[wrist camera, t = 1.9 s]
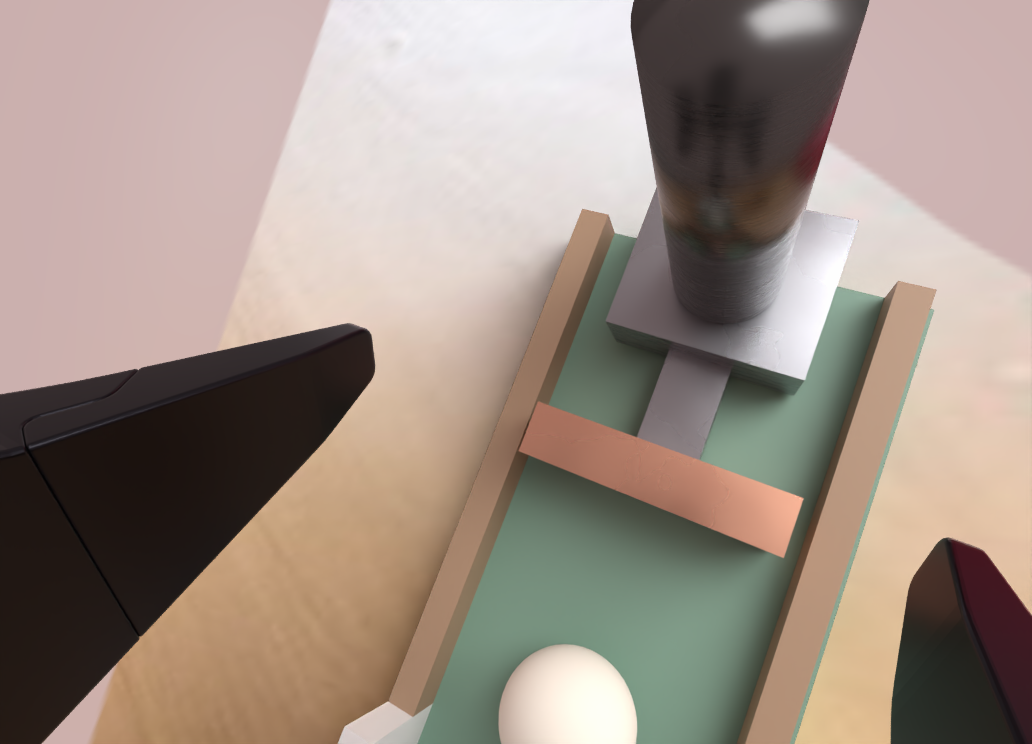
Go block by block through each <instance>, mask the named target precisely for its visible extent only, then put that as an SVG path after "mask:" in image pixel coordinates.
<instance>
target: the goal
mask: <svg viewBox="0 0 1032 744" xmlns="http://www.w3.org/2000/svg"><path fill="white" fill-rule="evenodd" d="M432 705H433V704H431V705H430V706H428V707H427V708H425V709H424V710H422V711H421V712H419V713H418V714H417V715H415V716H414V717H412V716H410V715H409V714H407V713H406V712H404V711H402V710H401V709H399V708H398V707H396V706H395V705H393V704H391V703H390V702H386V703H384V704H382V705H381V706H379V707H377V708H376V709H374V710H372V711H370V712H369V713H367V714H365V715H363V716H362V717H360V718H358V719H357V720H355V721H353V722H351V723H350V724H348V725H346V726H345V727H344V729H343V732H342V734H341V737H340V739H339V742H338V744H417V743H418V741H419V738H420V736H421V733H422V731H423V728H424V725H425V723H426V720H427V718H428V715H429V712H430V710H431V707H432Z"/></svg>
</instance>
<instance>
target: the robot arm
mask: <svg viewBox="0 0 1032 744" xmlns="http://www.w3.org/2000/svg"><path fill="white" fill-rule="evenodd" d="M374 373H375V359H374V351H373V342H372V336H371V334H370V332H369V331H368V330H367V329H365V328H363V327H360V326H357V325H354V324H350V323H347V324H341V325H337V326H332V327H328V328H323V329H318V330H314V331H309V332H305V333H300V334H295V335H291V336H286V337H281V338H277V339H272V340H268V341H263V342H258V343H254V344H249V345H244V346H240V347H235V348H231V349H226V350H221V351H217V352H212V353H207V354H203V355H198V356H194V357H189V358H185V359H180V360H175V361H171V362H166V363H162V364H157V365H152V366H147V367H143V368H141V369H139V370H137V369H133V370H128V371H124V372H120V373H115V374H110V375H105V376H100V377H95V378H91V379H85V380H80V381H75V382H70V383H64V384H58V385H54V386H47V387H41V388H36V389H30V390H24V391H18V392H12V393H6V394H0V744H42V742H44V741H45V739H46V738H47V737H48V736H49V735H50V734H51V733H52V732H53V731H54V730H55V729H56V728H57V727H58V726H59V724H60V723H61V722H62V721H63V720H64V719H65V718H66V717H67V716H68V715H69V714H70V713H71V712H72V711H73V710H74V708H75V707H76V706H77V705H78V704H79V703H80V702H81V701H82V700H83V699H84V698H85V697H86V696H87V695H88V693H89V692H90V691H91V690H92V689H93V688H94V687H95V686H96V685H97V684H98V683H99V682H100V681H101V680H102V679H103V678H104V676H105V675H106V674H107V673H108V672H109V671H110V670H111V669H112V668H113V667H114V666H115V665H116V664H117V663H118V662H119V660H120V659H121V658H122V657H123V656H124V655H125V654H126V653H127V652H128V651H129V650H130V649H131V648H132V647H133V646H134V644H135V643H136V642H137V641H138V640H139V636H142V635H143V634H144V633H145V632H146V631H147V630H148V629H149V628H150V627H151V626H152V625H153V624H154V623H155V622H156V621H157V619H158V618H159V617H160V616H161V615H162V614H163V613H164V612H165V611H166V610H167V609H168V608H169V607H170V606H171V605H172V603H173V602H174V601H175V600H176V599H177V598H178V597H179V596H180V595H181V594H182V593H183V592H184V591H185V590H186V589H187V587H188V586H189V585H190V584H191V583H192V582H193V581H194V580H195V579H196V578H197V577H198V576H199V575H200V574H201V573H202V572H203V570H204V569H205V568H206V567H207V566H208V565H209V564H210V563H211V562H212V561H213V560H214V559H215V558H216V557H217V556H218V554H219V553H220V552H221V551H222V550H223V549H224V548H225V547H226V546H227V545H228V544H229V543H230V542H231V541H232V540H233V538H234V537H235V536H236V535H237V534H238V533H239V532H240V531H241V530H242V529H243V528H244V527H245V526H246V525H247V524H248V522H249V521H250V520H251V519H252V518H253V517H254V516H255V515H256V514H257V513H258V512H259V511H260V510H261V509H262V508H263V506H264V505H265V504H266V503H267V502H268V501H269V500H270V499H271V498H272V497H273V496H274V495H275V494H276V493H277V492H278V491H279V489H280V488H281V487H282V486H283V485H284V484H285V483H286V482H287V481H288V480H289V479H290V478H291V477H292V476H293V475H294V473H295V472H296V471H297V470H298V469H299V468H300V467H301V466H302V465H303V464H304V463H305V462H306V461H307V460H308V459H309V457H310V456H311V455H312V454H313V453H314V452H315V451H316V450H317V449H318V448H319V447H320V446H321V444H322V443H323V442H324V441H325V440H326V439H327V437H328V436H329V435H330V434H331V432H332V431H333V430H334V429H335V427H336V426H337V425H338V423H339V422H340V421H341V419H342V418H343V417H344V415H345V414H346V413H347V411H348V410H349V409H350V408H351V406H352V405H353V404H354V402H355V401H356V400H357V398H358V397H359V396H360V394H361V393H362V392H363V390H364V389H365V388H366V387H367V385H368V384H369V383H370V381H371V380H372V378H373V376H374ZM891 744H1032V615H1031V614H1030V612H1029V611H1028V609H1027V608H1026V607H1025V605H1024V604H1023V603H1022V601H1021V600H1020V599H1019V597H1018V596H1017V594H1016V593H1015V592H1014V590H1013V589H1012V588H1011V586H1010V585H1009V584H1008V582H1007V581H1006V579H1005V578H1004V577H1003V575H1002V574H1001V573H1000V571H999V570H998V569H997V567H996V566H995V565H994V563H993V562H992V560H991V559H990V558H989V556H988V555H987V554H986V553H985V552H984V551H983V550H981V549H980V548H978V547H975V546H972V545H969V544H966V543H964V542H961V541H958V540H955V539H952V538H943V539H942V540H940V541H939V542H938V543H937V544H936V546H935V547H934V548H933V550H932V551H931V553H930V554H929V555H928V557H927V558H926V560H925V561H924V562H923V564H922V565H921V567H920V568H919V569H918V571H917V572H916V574H915V575H914V577H913V579H912V581H911V584H910V587H909V590H908V596H907V602H906V609H905V615H904V622H903V628H902V635H901V641H900V648H899V654H898V661H897V667H896V674H895V680H894V688H893V696H892V709H891Z"/></svg>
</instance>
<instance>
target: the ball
mask: <svg viewBox="0 0 1032 744" xmlns="http://www.w3.org/2000/svg"><path fill="white" fill-rule="evenodd" d="M498 725H499V735H500V740H501V744H636V737H637V717H636V710H635V706H634V702H633V699H632V696H631V693H630V691H629V689H628V687H627V685H626V683H625V681H624V679H623V678H622V676H621V675H620V673H619V672H618V671H617V670H616V669H615V667H614V666H613V665H612V664H611V663H610V662H608V661H607V660H606V659H605V658H604V657H602V656H601V655H599V654H598V653H596V652H594V651H592V650H590V649H587V648H585V647H581V646H577V645H569V644H559V645H552V646H548V647H545V648H543V649H540V650H538V651H536V652H535V653H533V654H531V655H530V656H528V657H527V658H526V659H524V660H523V661H522V663H521V664H520V665H519V666H518V667H517V668H516V669H515V671H514V672H513V673H512V675H511V676H510V678H509V680H508V682H507V684H506V686H505V689H504V691H503V694H502V698H501V701H500V707H499V723H498Z"/></svg>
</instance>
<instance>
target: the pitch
mask: <svg viewBox="0 0 1032 744" xmlns="http://www.w3.org/2000/svg"><path fill="white" fill-rule="evenodd" d="M636 240H637V239H636V238H632V237H628V236H624V235H620V234H615V233H614V230H613V227H612V224H611V221H610V218H609V215H607V214H603V213H598V212H594V211H589V210H585V209H582V211H581V213H580V216H579V219H578V221H577V224H576V226H575V229H574V231H573V234H572V236H571V239H570V241H569V244H568V246H567V249H566V251H565V254H564V257H563V259H562V262H561V264H560V267H559V269H558V272H557V274H556V277H555V279H554V282H553V284H552V287H551V289H550V292H549V295H548V297H547V300H546V302H545V305H544V307H543V310H542V312H541V315H540V317H539V320H538V322H537V325H536V327H535V330H534V333H533V335H532V338H531V340H530V343H529V345H528V348H527V350H526V353H525V355H524V358H523V360H522V363H521V365H520V368H519V371H518V373H517V376H516V378H515V381H514V383H513V386H512V388H511V391H510V393H509V396H508V398H507V401H506V403H505V406H504V408H503V411H502V414H501V416H500V419H499V421H498V424H497V426H496V429H495V431H494V434H493V436H492V439H491V441H490V444H489V446H488V449H487V452H486V454H485V457H484V459H483V462H482V464H481V467H480V469H479V472H478V474H477V477H476V479H475V482H474V484H473V487H472V490H471V492H470V495H469V497H468V500H467V502H466V505H465V507H464V510H463V512H462V515H461V517H460V520H459V522H458V525H457V528H456V530H455V533H454V535H453V538H452V540H451V543H450V545H449V548H448V550H447V553H446V555H445V558H444V560H443V563H442V566H441V568H440V571H439V573H438V576H437V578H436V581H435V583H434V586H433V588H432V591H431V593H430V596H429V598H428V601H427V603H426V606H425V609H424V611H423V614H422V616H421V619H420V621H419V624H418V626H417V629H416V631H415V634H414V636H413V639H412V641H411V644H410V647H409V649H408V652H407V654H406V657H405V659H404V662H403V664H402V667H401V669H400V672H399V674H398V677H397V679H396V682H395V685H394V687H393V690H392V692H391V695H390V697H389V700H388V702H390V703H391V704H393V705H395V706H396V707H398V708H399V709H401V710H402V711H404V712H406V713H407V714H409V715H410V716H412V717H414V716H415V715H417V714H418V713H419V712H421V711H422V710H424V709H425V708H427V707H428V706H430V705H431V704H433V705H432V707H431V710H430V712H429V715H428V718H427V720H426V723H425V725H424V728H423V731H422V733H421V736H420V738H419V741H418V743H417V744H501V740H500V735H499V725H498V723H499V707H500V701H501V698H502V694H503V691H504V689H505V686H506V684H507V682H508V680H509V678H510V676H511V675H512V673H513V672H514V671H515V669H516V668H517V667H518V666H519V665H520V664H521V663H522V661H523V660H524V659H526V658H527V657H528V656H530V655H531V654H533V653H535V652H536V651H538V650H540V649H543V648H545V647H548V646H552V645H559V644H569V645H577V646H581V647H585V648H587V649H590V650H592V651H594V652H596V653H598V654H599V655H601V656H602V657H604V658H605V659H606V660H607V661H608V662H610V663H611V664H612V665H613V666H614V667H615V669H616V670H617V671H618V672H619V673H620V675H621V676H622V678H623V679H624V681H625V683H626V685H627V687H628V689H629V691H630V693H631V696H632V699H633V702H634V706H635V710H636V717H637V737H636V744H794V743H795V740H796V737H797V734H798V731H799V728H800V725H801V721H802V718H803V715H804V712H805V709H806V706H807V703H808V700H809V697H810V694H811V690H812V687H813V684H814V681H815V678H816V675H817V672H818V669H819V666H820V663H821V659H822V656H823V653H824V650H825V647H826V644H827V641H828V638H829V635H830V631H831V628H832V625H833V622H834V619H835V616H836V613H837V610H838V607H839V604H840V600H841V597H842V594H843V591H844V588H845V585H846V582H847V579H848V576H849V573H850V569H851V566H852V563H853V560H854V557H855V554H856V551H857V548H858V545H859V542H860V538H861V535H862V532H863V529H864V526H865V523H866V520H867V517H868V514H869V511H870V507H871V504H872V501H873V498H874V495H875V492H876V489H877V486H878V483H879V479H880V476H881V473H882V470H883V467H884V464H885V461H886V458H887V455H888V452H889V448H890V445H891V442H892V439H893V436H894V433H895V430H896V427H897V424H898V421H899V417H900V414H901V411H902V408H903V405H904V402H905V399H906V396H907V393H908V390H909V386H910V383H911V380H912V377H913V374H914V371H915V368H916V365H917V362H918V359H919V355H920V352H921V349H922V346H923V343H924V340H925V337H926V334H927V331H928V327H929V324H930V321H931V318H932V315H933V312H934V310H933V309H930V308H931V305H932V302H933V299H934V296H935V293H936V289H931V288H927V287H922V286H918V285H914V284H909V283H905V282H901V281H898V282H897V283H896V284H895V286H894V287H893V288H892V289H891V291H890V292H889V293H888V294H887V296H886V297H885V298H883V297H879V296H874V295H870V294H866V293H862V292H858V291H854V290H849V289H845V288H841V287H837V288H836V290H835V293H834V296H833V299H832V302H831V305H830V308H829V311H828V314H827V317H826V320H825V323H824V326H823V328H822V331H821V334H820V337H819V340H818V343H817V346H816V349H815V352H814V355H813V358H812V361H811V364H810V366H809V369H808V372H807V375H806V378H805V381H804V382H803V384H802V385H801V387H800V388H799V389H798V391H797V392H796V394H795V395H794V396H792V395H788V394H785V393H782V392H779V391H775V390H772V389H769V388H766V387H762V386H759V385H756V384H753V383H750V382H746V381H743V380H740V379H737V378H733V377H730V379H729V382H728V385H727V388H726V390H725V393H724V396H723V399H722V402H721V404H720V407H719V410H718V413H717V416H716V419H715V421H714V424H713V427H712V430H711V433H710V435H709V438H708V441H707V444H706V447H705V449H704V452H703V455H702V458H701V461H703V462H706V463H709V464H711V465H714V466H717V467H720V468H722V469H725V470H728V471H731V472H733V473H736V474H739V475H742V476H744V477H747V478H750V479H753V480H755V481H758V482H761V483H763V484H766V485H769V486H772V487H774V488H777V489H780V490H783V491H785V492H788V493H791V494H794V495H796V496H799V497H802V498H804V499H803V502H802V505H801V508H800V511H799V514H798V517H797V520H796V523H795V526H794V529H793V532H792V535H791V538H790V541H789V544H788V547H787V550H786V553H785V556H784V558H782V557H780V556H777V555H775V554H772V553H770V552H767V551H765V550H762V549H760V548H757V547H755V546H753V545H750V544H748V543H745V542H743V541H740V540H738V539H735V538H733V537H730V536H728V535H725V534H723V533H720V532H718V531H715V530H713V529H710V528H708V527H705V526H703V525H701V524H698V523H696V522H693V521H691V520H688V519H686V518H683V517H681V516H678V515H676V514H673V513H671V512H668V511H666V510H663V509H661V508H658V507H656V506H653V505H651V504H649V503H646V502H644V501H641V500H639V499H636V498H634V497H631V496H629V495H626V494H624V493H621V492H619V491H616V490H614V489H611V488H609V487H606V486H604V485H601V484H599V483H597V482H594V481H592V480H589V479H587V478H584V477H582V476H579V475H577V474H574V473H572V472H569V471H567V470H564V469H562V468H559V467H557V466H554V465H552V464H549V463H547V462H544V461H542V460H540V459H537V458H535V457H532V456H530V455H527V454H525V453H522V452H520V451H519V449H520V446H521V444H522V441H523V439H524V436H525V433H526V431H527V428H528V426H529V423H530V421H531V418H532V415H533V413H534V410H535V408H536V405H537V403H538V401H539V402H541V403H544V404H547V405H550V406H552V407H555V408H558V409H561V410H563V411H566V412H569V413H572V414H574V415H577V416H580V417H583V418H585V419H588V420H591V421H594V422H596V423H599V424H602V425H605V426H607V427H610V428H613V429H615V430H618V431H621V432H624V433H626V434H629V435H632V436H635V437H637V435H638V433H639V430H640V427H641V425H642V422H643V419H644V416H645V414H646V411H647V408H648V406H649V403H650V400H651V398H652V395H653V392H654V389H655V387H656V384H657V381H658V379H659V376H660V373H661V370H662V368H663V365H664V362H665V360H666V357H665V356H662V355H659V354H655V353H652V352H649V351H646V350H642V349H639V348H636V347H633V346H629V345H626V344H623V343H620V342H617V341H616V340H615V338H614V336H613V334H612V332H611V330H610V329H609V327H608V325H607V323H606V319H607V316H608V313H609V311H610V308H611V306H612V303H613V300H614V298H615V295H616V292H617V290H618V287H619V285H620V282H621V279H622V277H623V274H624V272H625V269H626V266H627V264H628V261H629V258H630V256H631V253H632V251H633V248H634V245H635V243H636Z"/></svg>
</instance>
